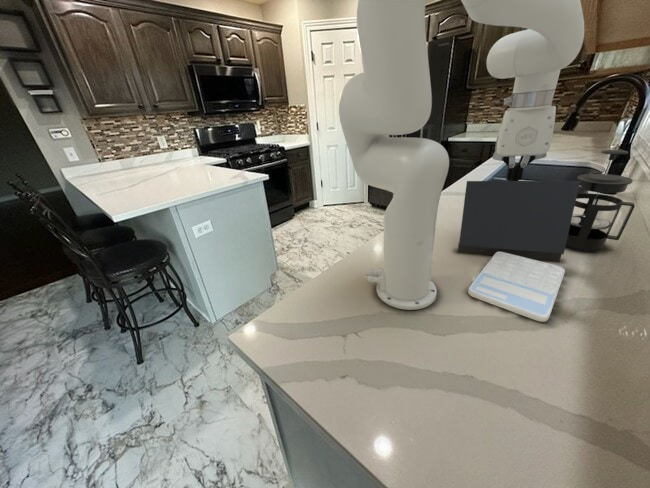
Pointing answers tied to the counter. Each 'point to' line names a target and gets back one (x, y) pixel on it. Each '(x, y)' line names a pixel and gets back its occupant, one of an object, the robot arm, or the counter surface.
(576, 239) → the french press
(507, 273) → the calculator
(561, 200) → the cover
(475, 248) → the hinge strip
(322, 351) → the counter surface
